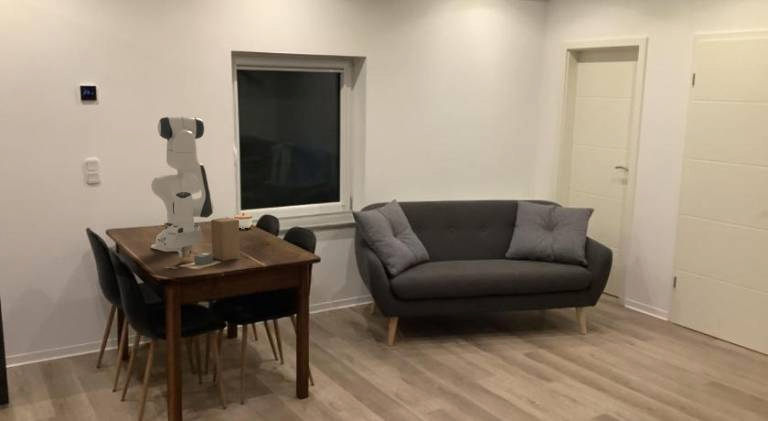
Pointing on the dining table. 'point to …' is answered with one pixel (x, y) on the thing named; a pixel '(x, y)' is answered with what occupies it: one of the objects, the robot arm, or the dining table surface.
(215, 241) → the wooden block
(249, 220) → the lidded jar
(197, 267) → the plywood panel
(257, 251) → the dining table surface
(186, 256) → the peg
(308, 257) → the dining table surface
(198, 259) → the grey rectangular block
